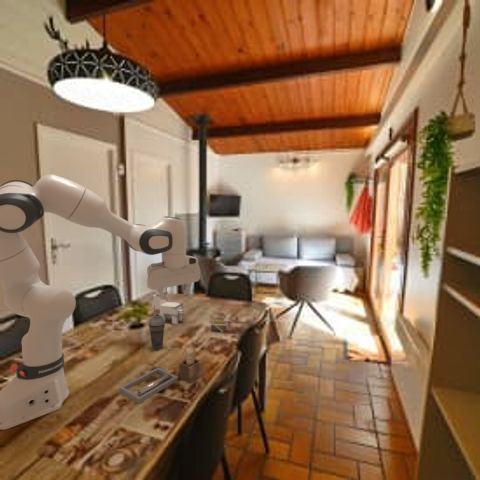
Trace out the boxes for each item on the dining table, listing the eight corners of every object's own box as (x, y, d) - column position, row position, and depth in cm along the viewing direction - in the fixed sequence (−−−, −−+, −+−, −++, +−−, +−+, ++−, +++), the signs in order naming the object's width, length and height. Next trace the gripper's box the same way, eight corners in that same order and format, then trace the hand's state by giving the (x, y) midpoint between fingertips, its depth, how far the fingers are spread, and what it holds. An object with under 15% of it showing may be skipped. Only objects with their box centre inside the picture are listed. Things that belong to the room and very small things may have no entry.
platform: (234, 337, 156) (234, 325, 156) (198, 336, 158) (198, 323, 157) (236, 328, 168) (236, 316, 168) (203, 327, 170) (203, 315, 169)
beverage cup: (161, 352, 139) (160, 308, 137) (146, 350, 140) (145, 307, 138) (168, 345, 146) (167, 303, 144) (153, 344, 147) (152, 302, 145)
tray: (139, 405, 102) (139, 399, 102) (119, 393, 109) (119, 387, 108) (178, 382, 116) (177, 376, 116) (158, 372, 122) (158, 367, 122)
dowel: (190, 379, 116) (190, 351, 115) (184, 377, 118) (184, 349, 117) (196, 376, 119) (196, 348, 117) (190, 373, 120) (190, 346, 119)
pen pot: (190, 385, 114) (190, 368, 113) (178, 379, 118) (178, 362, 117) (202, 377, 119) (202, 361, 118) (190, 372, 123) (190, 356, 122)
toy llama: (180, 325, 170) (179, 289, 168) (152, 321, 175) (151, 286, 173) (186, 321, 177) (186, 286, 175) (159, 317, 182) (159, 283, 180)
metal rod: (142, 397, 105) (141, 390, 105) (138, 396, 106) (137, 389, 106) (170, 381, 115) (168, 374, 115) (165, 380, 116) (164, 373, 116)
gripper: (150, 265, 106) (152, 305, 108) (201, 258, 119) (202, 293, 121) (143, 262, 111) (145, 300, 113) (193, 256, 124) (193, 289, 126)
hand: (175, 296), depth 117 cm, fingers open, 8 cm apart
